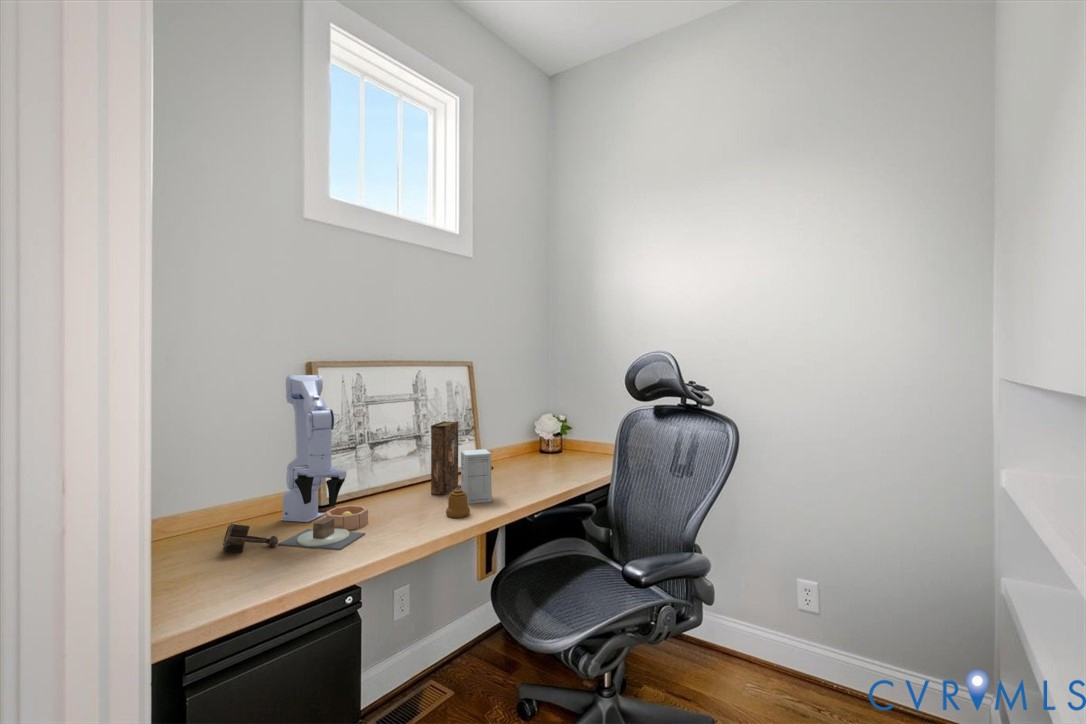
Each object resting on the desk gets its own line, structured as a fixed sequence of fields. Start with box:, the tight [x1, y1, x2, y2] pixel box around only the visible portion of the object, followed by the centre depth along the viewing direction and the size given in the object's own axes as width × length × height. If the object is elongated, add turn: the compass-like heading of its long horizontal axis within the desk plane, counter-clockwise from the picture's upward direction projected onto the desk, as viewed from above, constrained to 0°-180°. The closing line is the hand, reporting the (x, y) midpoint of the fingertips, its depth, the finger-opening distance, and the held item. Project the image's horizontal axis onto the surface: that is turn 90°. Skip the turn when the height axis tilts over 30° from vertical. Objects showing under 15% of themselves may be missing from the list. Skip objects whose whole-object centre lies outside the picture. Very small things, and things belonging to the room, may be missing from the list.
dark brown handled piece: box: [221, 523, 279, 553], centre depth 130 cm, size 7×13×10 cm
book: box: [430, 420, 459, 496], centre depth 191 cm, size 16×6×25 cm, turn 172°
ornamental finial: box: [445, 488, 471, 519], centre depth 159 cm, size 8×8×8 cm
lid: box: [297, 517, 350, 546], centre depth 137 cm, size 13×13×5 cm
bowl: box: [325, 504, 369, 531], centre depth 150 cm, size 11×11×4 cm
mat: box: [277, 528, 366, 551], centre depth 137 cm, size 18×12×1 cm, turn 79°
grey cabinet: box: [460, 448, 493, 505], centre depth 177 cm, size 10×9×17 cm
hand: (319, 503), depth 138 cm, fingers open, 7 cm apart
